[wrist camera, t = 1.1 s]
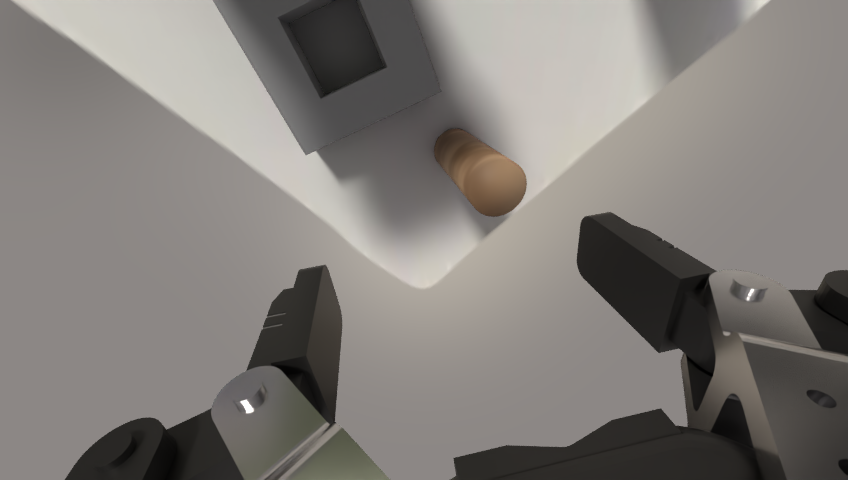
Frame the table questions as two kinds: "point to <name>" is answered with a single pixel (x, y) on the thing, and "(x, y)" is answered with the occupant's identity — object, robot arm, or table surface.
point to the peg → (481, 172)
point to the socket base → (297, 84)
